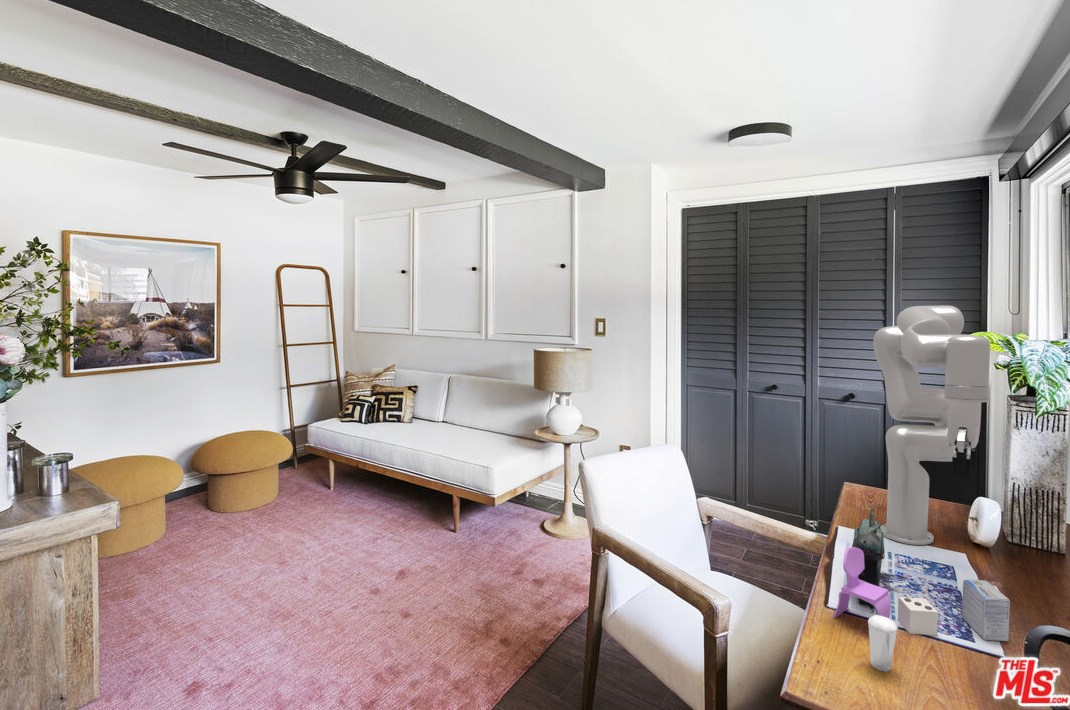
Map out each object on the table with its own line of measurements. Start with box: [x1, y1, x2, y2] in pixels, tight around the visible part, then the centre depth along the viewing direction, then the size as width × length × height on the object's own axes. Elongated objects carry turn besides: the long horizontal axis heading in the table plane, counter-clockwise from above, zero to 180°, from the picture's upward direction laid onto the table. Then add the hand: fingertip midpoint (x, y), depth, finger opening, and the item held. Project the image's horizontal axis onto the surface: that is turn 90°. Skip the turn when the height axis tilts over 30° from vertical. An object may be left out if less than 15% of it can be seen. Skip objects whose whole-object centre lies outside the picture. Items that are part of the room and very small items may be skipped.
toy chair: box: [832, 546, 892, 619], centre depth 115 cm, size 8×9×15 cm
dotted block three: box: [897, 596, 939, 636], centre depth 113 cm, size 5×5×5 cm
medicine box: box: [961, 579, 1011, 642], centre depth 112 cm, size 8×4×9 cm, turn 168°
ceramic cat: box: [851, 507, 885, 609], centre depth 128 cm, size 20×6×20 cm, turn 148°
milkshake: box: [867, 614, 902, 673], centre depth 101 cm, size 4×5×10 cm
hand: (963, 472), depth 121 cm, fingers open, 9 cm apart
